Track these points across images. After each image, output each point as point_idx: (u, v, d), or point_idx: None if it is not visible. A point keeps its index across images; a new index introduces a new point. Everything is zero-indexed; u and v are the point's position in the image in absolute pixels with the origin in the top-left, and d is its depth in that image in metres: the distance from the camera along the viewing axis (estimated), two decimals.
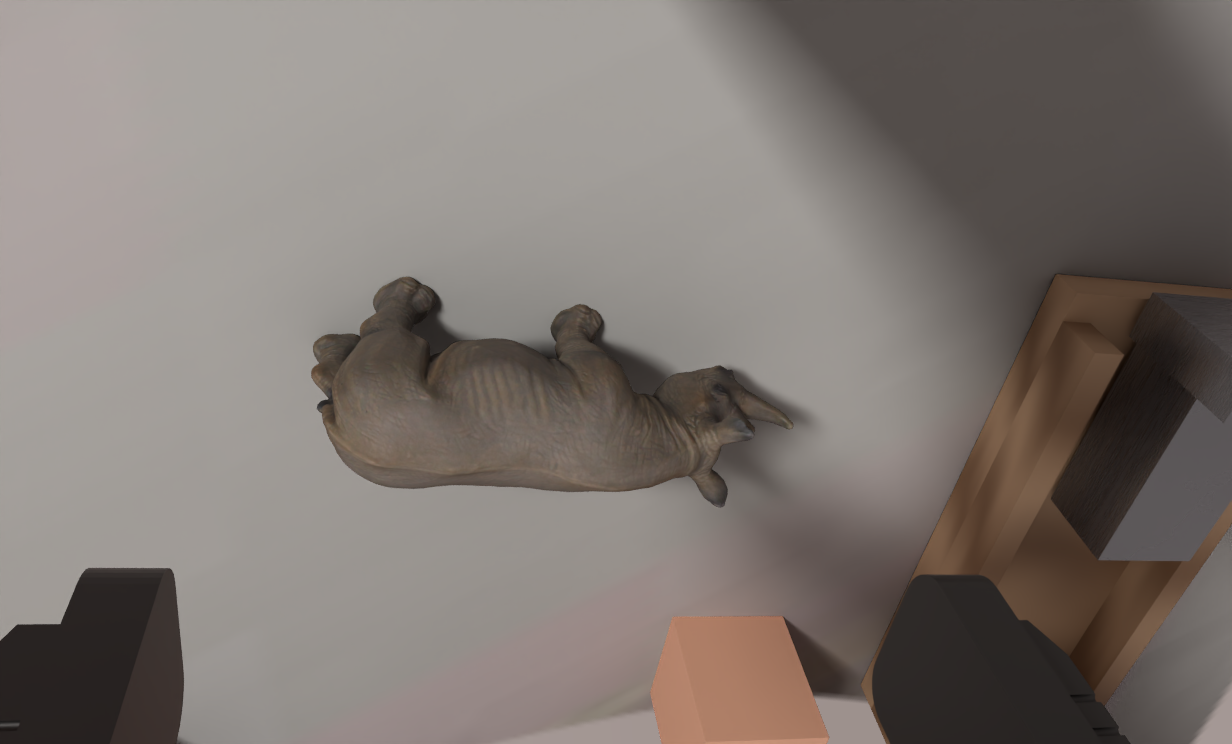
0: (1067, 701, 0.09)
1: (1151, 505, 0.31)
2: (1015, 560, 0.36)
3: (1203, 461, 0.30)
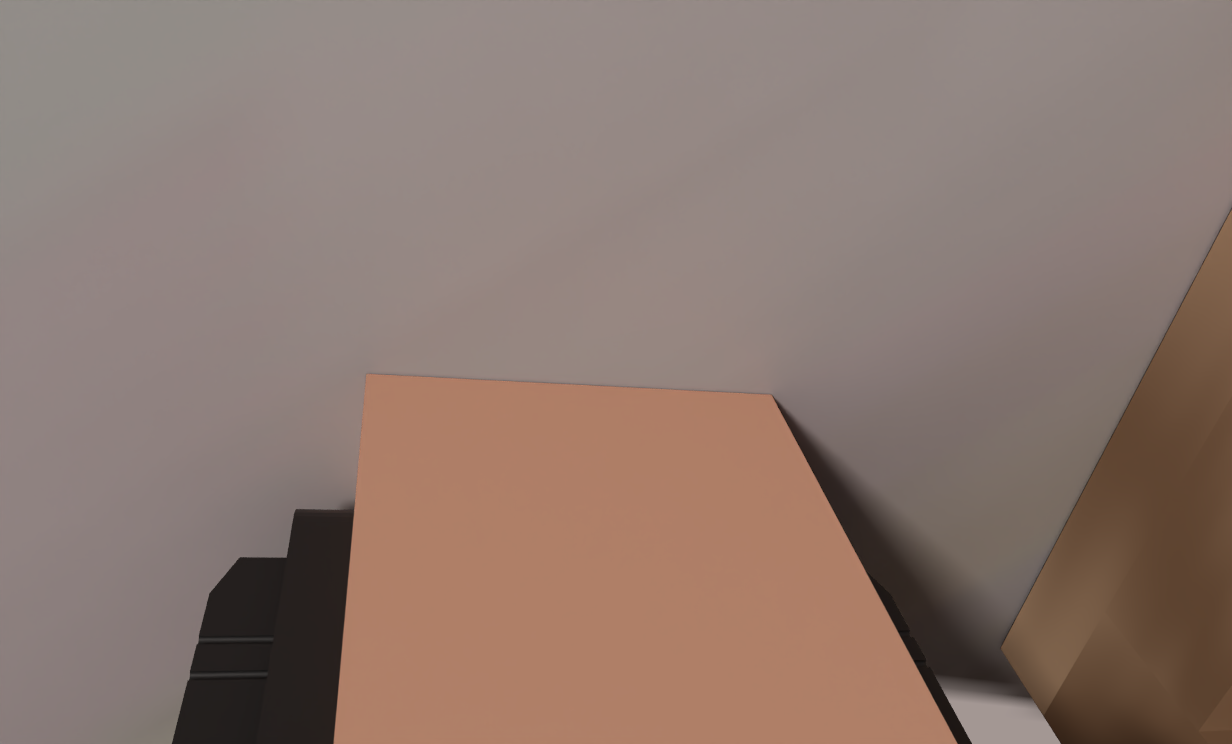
0: None
1: None
2: None
3: None
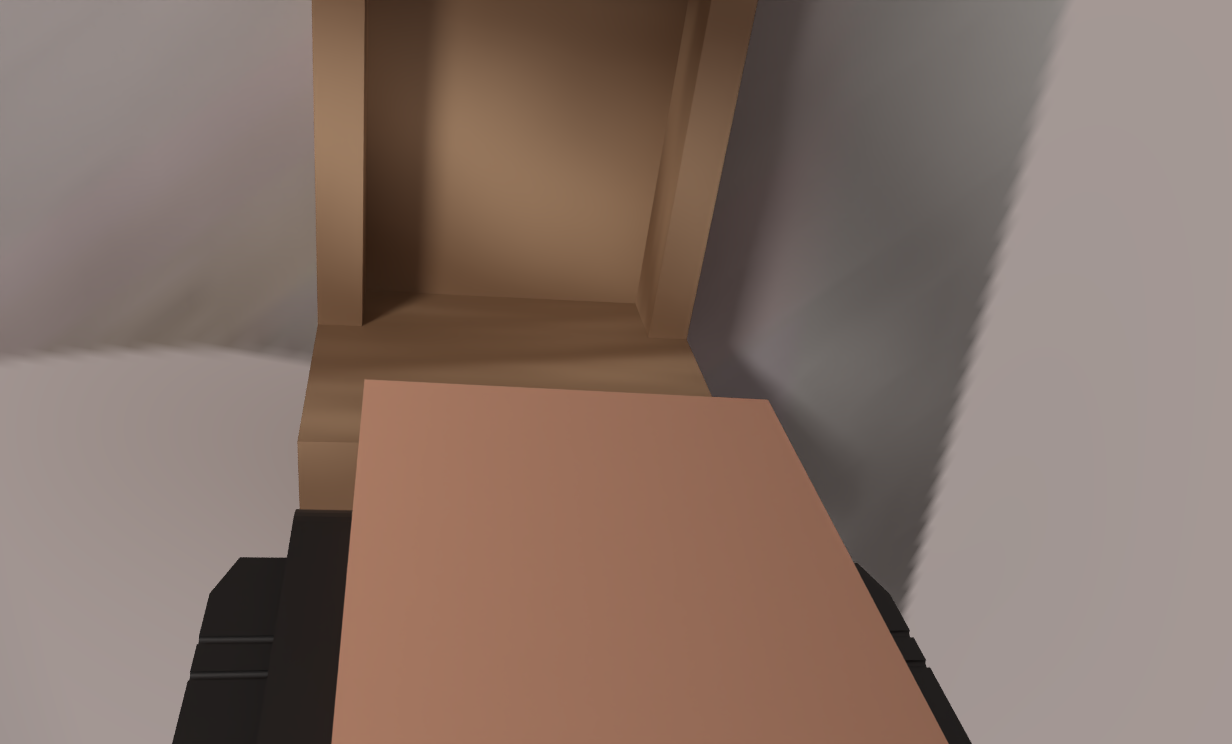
0: None
1: None
2: (460, 28, 0.21)
3: None
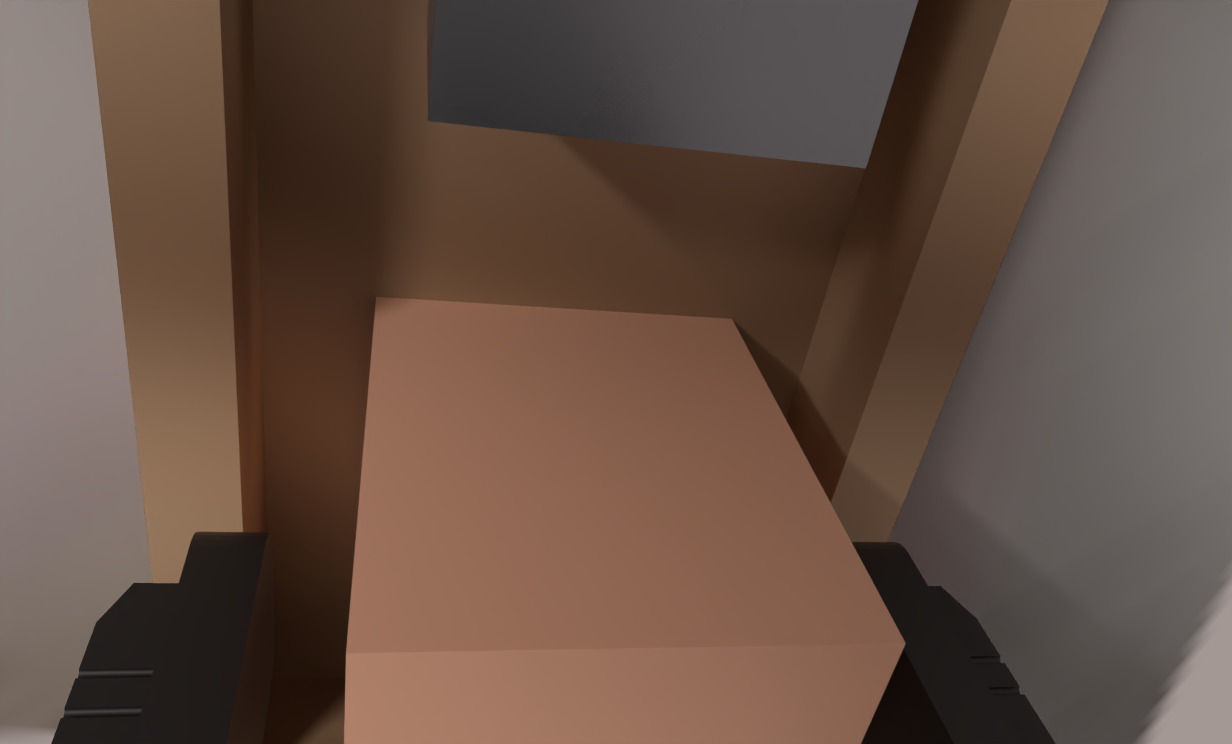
0: (965, 660, 0.10)
1: None
2: None
3: None
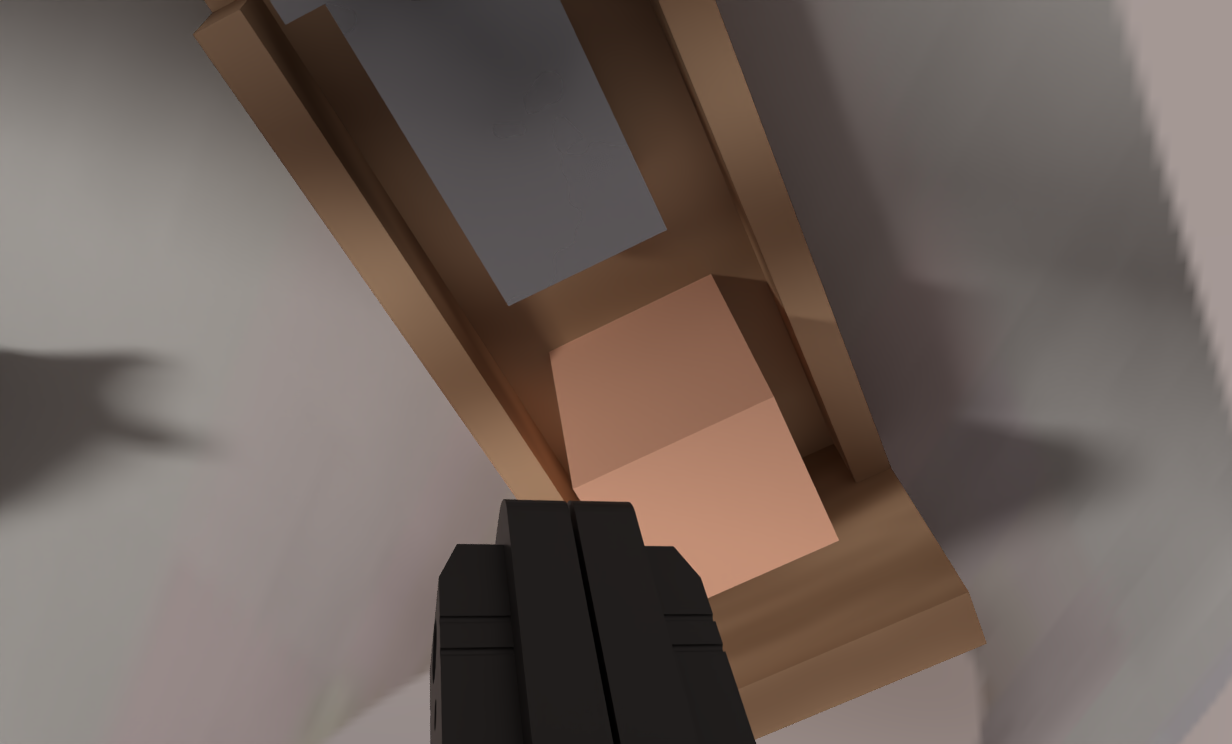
0: (657, 614, 0.09)
1: (483, 191, 0.19)
2: None
3: (476, 85, 0.17)
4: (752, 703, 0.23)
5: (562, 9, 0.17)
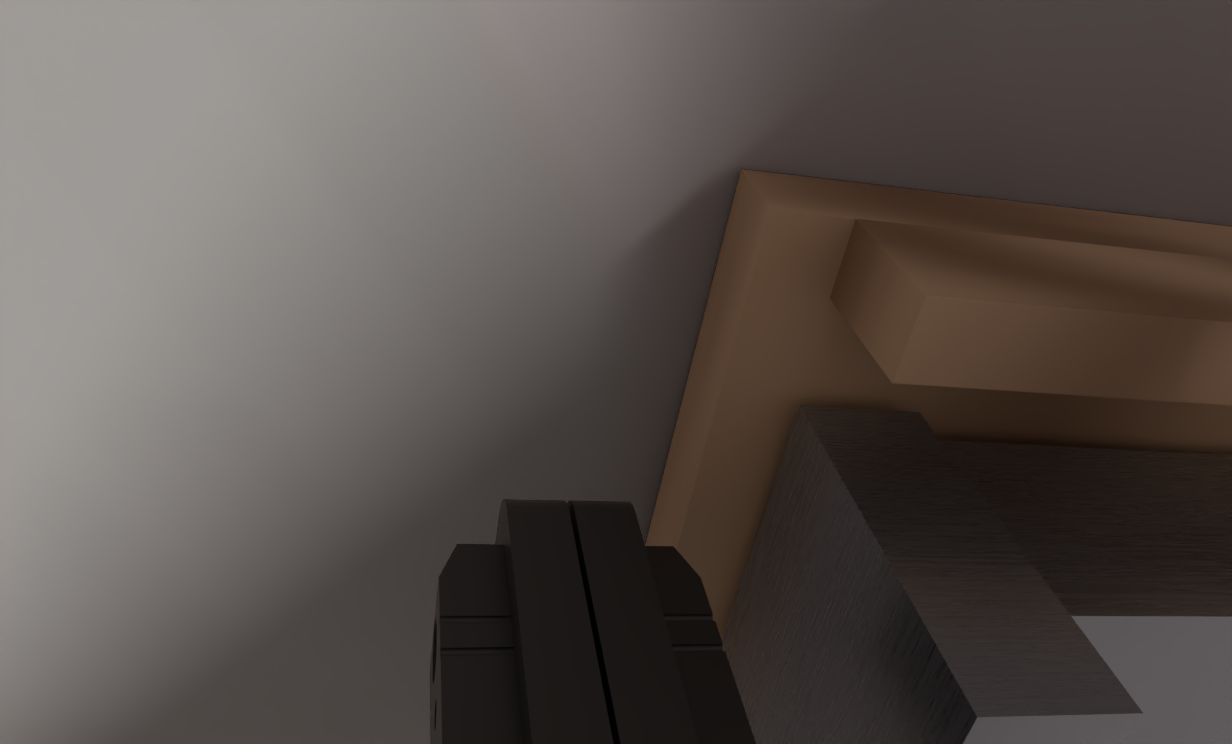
0: (656, 614, 0.09)
1: None
2: None
3: (1154, 738, 0.11)
4: None
5: (1202, 619, 0.10)
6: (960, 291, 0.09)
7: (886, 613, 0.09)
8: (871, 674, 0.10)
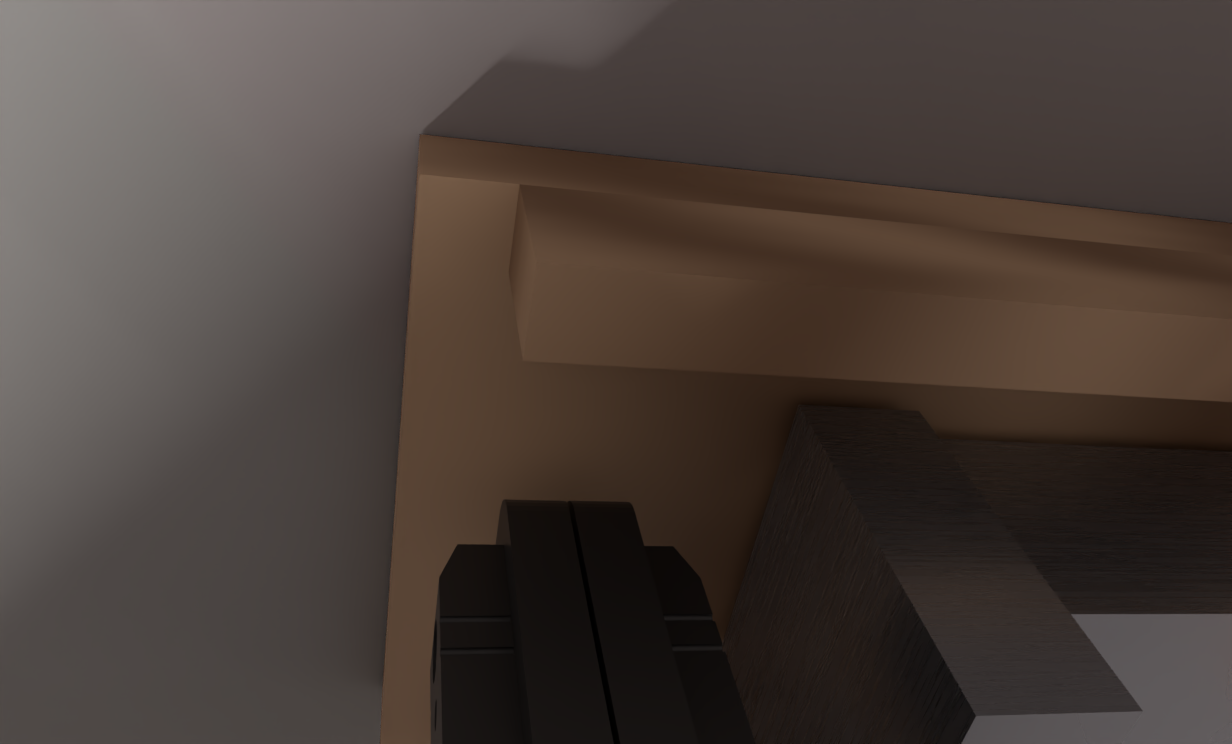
0: (656, 615, 0.09)
1: None
2: None
3: (1157, 736, 0.11)
4: None
5: (1203, 616, 0.10)
6: (584, 259, 0.09)
7: (884, 612, 0.09)
8: (871, 674, 0.10)
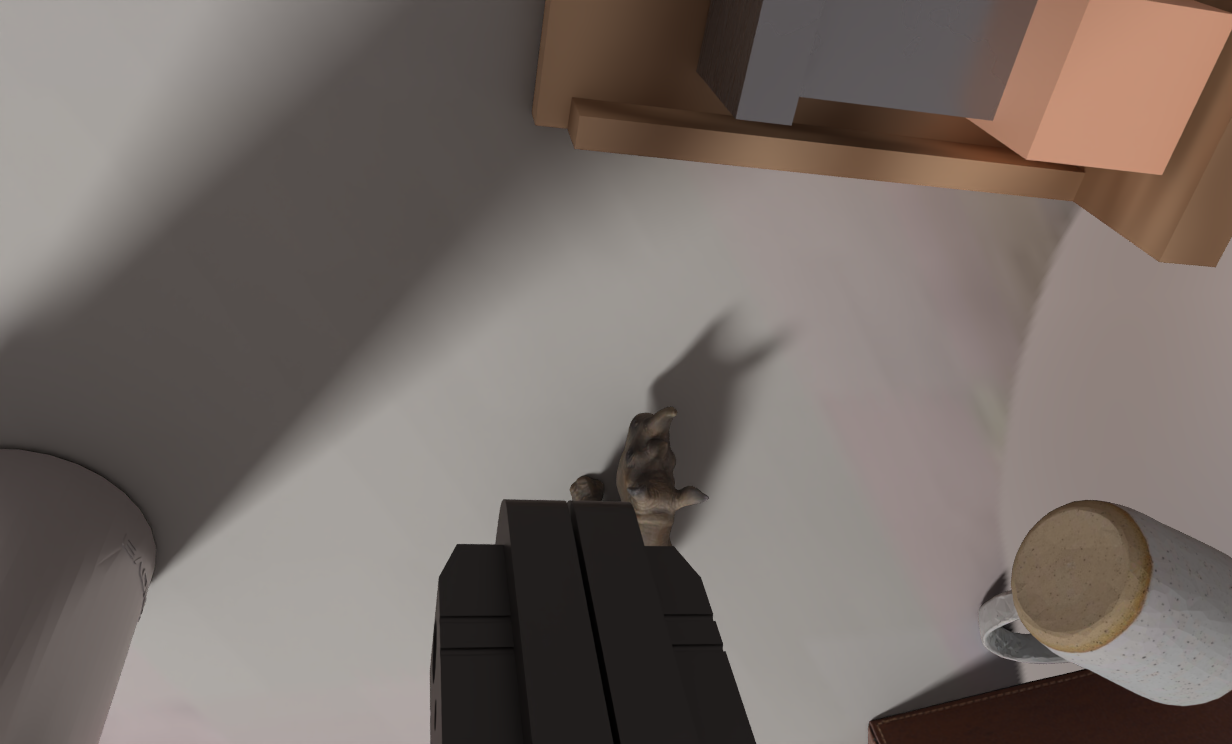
0: (657, 615, 0.09)
1: (927, 86, 0.28)
2: None
3: (877, 47, 0.27)
4: None
5: None
6: None
7: None
8: None
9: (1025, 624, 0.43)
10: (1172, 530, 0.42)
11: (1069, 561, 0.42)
